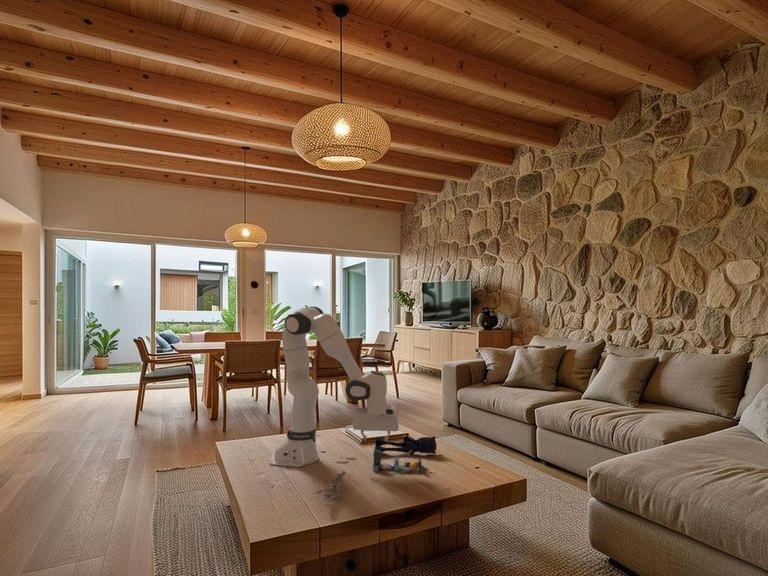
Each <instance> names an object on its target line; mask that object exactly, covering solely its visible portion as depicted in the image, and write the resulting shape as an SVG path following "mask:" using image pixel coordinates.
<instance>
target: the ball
mask: <svg viewBox="0 0 768 576" xmlns="http://www.w3.org/2000/svg"><path fill="white" fill-rule="evenodd" d="M410 462H411V463H410V468H411V469H417V467H418V464H417V462H418V461H416V460H415V461H414V460H413V461H410Z"/></svg>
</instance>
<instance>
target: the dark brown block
mask: <svg viewBox="0 0 768 576" xmlns="http://www.w3.org/2000/svg"><path fill="white" fill-rule="evenodd" d="M373 473H379V465H374V469H373Z"/></svg>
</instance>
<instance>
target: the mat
mask: <svg viewBox="0 0 768 576" xmlns="http://www.w3.org/2000/svg"><path fill="white" fill-rule="evenodd" d="M421 466H422V473H405V469H411V468H410V467H405V464H402V465H401V464H399V471H394V469H391V470H392V473H391V474H392V475H426V470H425V465H424V464H421ZM417 469H419V467H417Z"/></svg>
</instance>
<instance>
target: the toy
mask: <svg viewBox="0 0 768 576" xmlns="http://www.w3.org/2000/svg"><path fill="white" fill-rule="evenodd" d="M401 439H403V441H401V442H400V441H399V442H396V441H395V442H394V441H384V439H382V438H380V437H379V438H378V437H375V446H374V450H381V454H382V453H383V452H399V453H401V455H400V456H401V457H406V456H408V455H414V454H415V453H420V454H427V455H428V454H433V455H436V454H437V453H436V450H437V441H436V436H435V435H434V436H432V437H431V436H430V437H429V436H423V437H419V438H418V439H415V438H412V436H410V435H407V434H406V435H402V436H401ZM386 445H389V446H394V447H385V446H386Z"/></svg>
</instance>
